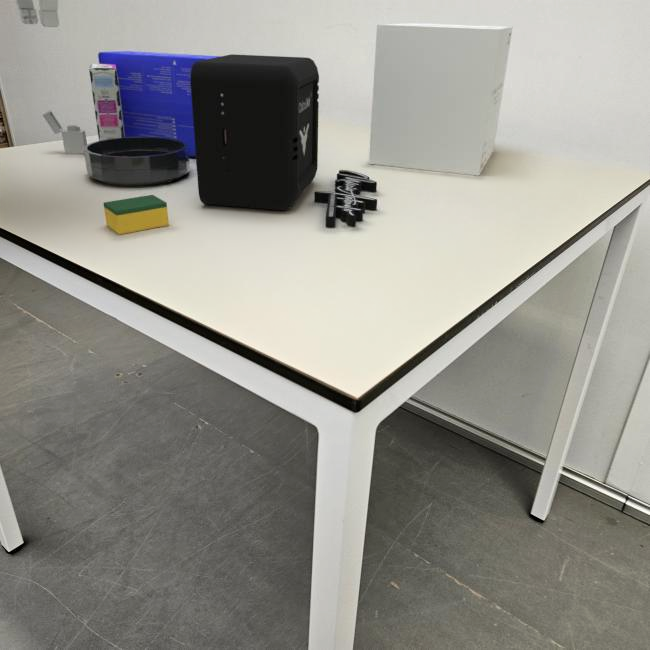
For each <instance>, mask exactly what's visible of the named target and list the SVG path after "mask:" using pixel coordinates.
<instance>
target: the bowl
mask: <svg viewBox="0 0 650 650" xmlns="http://www.w3.org/2000/svg"><path fill="white" fill-rule="evenodd" d="M83 155H84V161H85V168H86V172H87V176H88V177H90V178H92V179H93V180H97V181H98V182H100V183H104V184H106V185H112V186H122V187H142V186H153V185H161V184H166V183H170V182H173V181H176V180H179V179H180V178H181V177H183V176H184V175H187V174H188V173H189V172H190V170H191V167H190V157H189V152H188V145H187V144H186V142H183V141H180V140H177V139H171V138H163V137H122V138H112V139H106V140H100V141H99V140H97V141H93V142H90V143H87V145H86V146H84V154H83Z"/></svg>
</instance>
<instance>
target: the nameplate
mask: <svg viewBox="0 0 650 650" xmlns="http://www.w3.org/2000/svg"><path fill="white" fill-rule="evenodd" d="M377 186H378V182H377V181H375V180H373V179H370V177H369V176H368V175H366V174H364V173H360V172H357V171H353V170H349V169H339V171H338V173H336V179H335V180H334V191H324V190H317V191H314V192H313V193H314V194H313V196H314V197H313V201H314V203H322V204H326V211H325V212H326V213H325V227H326V228H329V229H331V228H332V229H334V228H335V227H336V219H339V220H340V221H341V222H344V223H346V225H347V226H348V227H352V228H353V227H356V226H357V222H362V221H364V214H365V212H366V210H367V211H377V208H378V199H377V198H373V197H369V196H364V195H361V193H362V192H367V193H377V188H378V187H377Z"/></svg>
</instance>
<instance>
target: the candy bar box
mask: <svg viewBox="0 0 650 650" xmlns="http://www.w3.org/2000/svg"><path fill="white" fill-rule="evenodd" d="M88 71H89V79H90V87H91V92H92V101H93V107H94V108H93V109H94V115H95V122H96V123H95V124H96V130H97V136H98V141H100V140H106V139H112V138H122V137H125V134H124V124H123V115H122V107H121V98H120V90H119V82H118V75H117V70H116V65H115V64H99V63H90V64H89V67H88Z"/></svg>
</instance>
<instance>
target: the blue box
mask: <svg viewBox="0 0 650 650" xmlns="http://www.w3.org/2000/svg"><path fill="white" fill-rule="evenodd" d="M221 56H222V55H219V56H218V55H204V54H189V53H168V52H153V51H152V52H151V51H149V52H147V51H130V50H124V51H121V50H120V51H99V52H98V54H97V59H98V64H115V65H116V70H117V75H118V82H119V90H120V98H121V107H122V115H123V124H124V134H125V137H163V138H171V139H177V140H180V141H183V142H186V144H187V145H188V152H189V158H195V159H196V151H195V137H194V124H193V110H192V96H191V83H190V75H191V69H192V66H193V64H194V63H195V62H196V61H201V60H206V59H211V58H216V57H221Z"/></svg>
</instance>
